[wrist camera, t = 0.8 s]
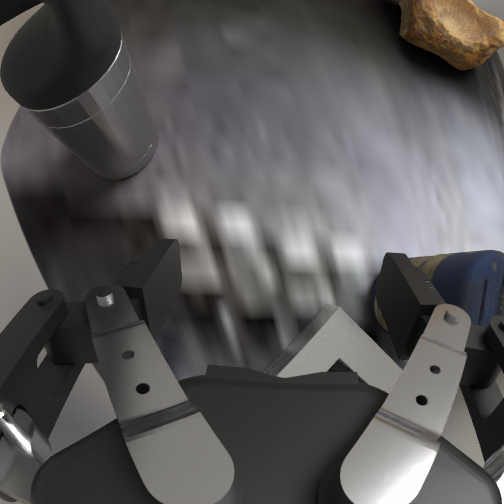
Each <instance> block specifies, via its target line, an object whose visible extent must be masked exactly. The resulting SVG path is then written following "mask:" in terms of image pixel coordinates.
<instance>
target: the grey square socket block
mask: <svg viewBox="0 0 504 504" xmlns="http://www.w3.org/2000/svg"><path fill="white" fill-rule="evenodd" d="M337 360H339V361H340V362H341V363H342V364H343V365H344V366H345V367H346V368H348V369H349V370H350V371H351V372H357V373H358V378H359V379H360V380H361V381H360V383H364V384H368V385H371V386H374V387H377V388H379V389H381V390H383V391H385V392H387V393H388V394H390V392H391V390H392V389H393V387H394V385H395V384H396V382H397V380H398V378H399V377H400V375H401V373H402V371H403V370H402V369H401V368H400V367H399V366H398V365H397V364H396V363H395V362H394V361H393V360H392V359H391V358H390V357H389V356H388V355H387V354H386V353H385V352H384V351H383V350H382V349H381V348H380V347H379V346H378V345H377V344H376V343H375V342H374V341H373V340H372V339H371V338H370V337H369V336H368V335H367V334H366V333H365V332H364V331H363V330H362V329H361V328H360V327H359V326H358V325H357V324H356V323H355V322H354V321H353V320H352V319H351V318H350V317H349V316H348V315H347V314H346V313H345V312H344V311H343V310H342V309H341V308H340V307H337V306H334V305H330V304H326V305H325V306H324V307H323V308H322V309H321V311H320V312H319V313H318V314H317V315H316V316H315V317H314V318H313V320H312V321H311V322H310V323H309V324H308V325H307V326H306V327H305V328H304V330H303V331H302V332H301V333H300V334H299V335H298V336H297V337H296V338H295V339H294V340H293V342H292V343H291V344H290V345H289V346H288V347H287V348H286V349H285V350H284V351H283V352H282V353H281V354H280V355H279V356H278V357H277V359H276V360H275V361H274V362H273V363H272V364H271V365H270V366H269V367H268V368H267V369H266V370H265V371H264V372H263V373H265V374H269V375H273V376H277V377H282V378H287V377H294V376H300V375H306V374H312V373H317V372H327V371H328V370H329V369H330V367H331V366H332V365H333V364H334V363H335V362H336V361H337Z"/></svg>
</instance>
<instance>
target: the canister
mask: <svg viewBox="0 0 504 504" xmlns="http://www.w3.org/2000/svg"><path fill="white" fill-rule="evenodd" d="M409 260H410V261H411V263H412V264H413V265H414V266H416V267H417V268H419V269H420V270H421V271H423V272H424V273H425V274H426V275H427V277H428V278H429V280H430V282H432V284H433V285H434V288H436V290H437V291H438V293H439V294H440V295H441V297H442V298H443V300H444V301H445V303H446V304H451V305H454V306H457V307H459V308H461V309H462V310H464V311H465V312H466V313H467V314H468V315H469V317H470V319H471V324H474V325H479V326H484V327H487V326H488V324H489V321H490V319H491V318H492V317H493V316H497V315H499V316H504V253H502V252H500V251H495V250H484V251H471V252H461V253H450V254H439V255H436V256H426V257H415V258H409ZM379 276H380V275H379ZM378 280H379V277H378V278H377V280H376V282H375V285H374V288H373V293H372V308H373V312H374V315H375V318H376V320H377V321H378V323H379V324H380V326H381V327H382V328H383V329H384V330H385V331H387V332H388V329H387V326H386V324H385V321H384V319H383V316H382V314H381V311H380V309H379V306H378V304H377V301H376V289H377V284H378ZM388 333H389V332H388Z"/></svg>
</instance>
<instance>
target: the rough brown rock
mask: <svg viewBox="0 0 504 504" xmlns="http://www.w3.org/2000/svg"><path fill="white" fill-rule="evenodd" d="M399 5H400V7H401V11H402V15H401V25H400V36H401V37H402V38H403V39H404V40H406V41H408V42H410V43H411V44H413V45H415V46H417V47H420V48H423V49H425V50H427V51H430V52H433V53H434V54H436V55H438V56H440V57H441V58H443V59H444V60H446V61H447V62H448V63H449V64H451V65H452V66H454V67H455V68H457V69H459V70H461V71H464V70H468V69H473V68H477V67H479V66H481V65H482V64H483V63H484V62H485V61H486V59H487V58H489V57H490V56H491V55H492V54H493V53H494V52H495V51H497V50H498V49H500V48H502V47H503V46H504V22H503V21H502V20H501V19H499V18H497V17H494V16H491V15H489V14H487V13H486V12H484V11H481V10H480V9H478V8H477V7H476V6H475V5H474V3H473V2H472V1H471V0H399Z"/></svg>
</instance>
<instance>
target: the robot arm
mask: <svg viewBox="0 0 504 504" xmlns="http://www.w3.org/2000/svg"><path fill="white" fill-rule="evenodd" d="M40 3H45V4H44V5H43V6H42V7H41V8H40V9H39V10H38V11H37V12H36V13H35V14H34V15H33V16H32V17H31V18H30V19H29V20H28V21H27V22H26V23H25V24H24V25H23V26H22V27H21V28H20V29H19V30H18V32H17V33H16V34H15V36H14V37H13V39H12V40H11V42H10V43H9V45H8V47H7V49H6V51H5V53H4V56H3V59H2V63H1V69H0V77H1V81H2V84H3V86H4V88H5V90H6V91H7V92H8V94H9V95H10V96H11V97H12V98H13V99H14V100H15V101H17V102H18V103H19V104H20V105H21V106H22V107H23V108H24V109H25V110H26V111H27V112H28V113H30V114H31V115H32V116H33V117H34V118H35V119H36V120H37V121H38V122H39V123H41V124H42V125H43V126H44V127H45V128H46V129H47V130H48V131H49V132H50V133H51V134H52V135H54V136H55V137H56V138H57V139H58V140H59V141H60V142H61V143H62V144H63V145H64V146H66V147H67V148H68V149H69V150H70V151H71V152H72V153H73V154H74V155H76V156H77V157H78V158H79V159H80V160H81V161H82V162H83V163H84V164H85V165H87V166H88V167H89V168H90V169H91V170H92V171H93V172H95V173H96V174H97V175H99V176H101V177H103V178H106V179H113V180H116V179H123V178H126V177H129V176H132V175H133V174H135V173H137V172H139V171H140V170H141V169H142V168H143V167H145V166H146V164H147V163H148V162H149V161H150V160H151V158H152V156H153V154H154V152H155V150H156V147H157V141H158V134H157V129H156V126H155V123H154V121H153V118H152V115H151V112H150V109H149V107H148V104H147V102H146V99H145V96H144V93H143V91H142V88H141V85H140V83H139V80H138V77H137V74H136V72H135V69H134V66H133V63H132V61H131V58H130V55H129V53H128V50H127V47H126V44H125V41H124V38H123V35H122V33H121V30H120V27H119V24H118V22H117V19H116V16H115V13H114V10H113V7H112V4H111V1H110V0H0V26H1V25H2V24H4V23H6V22H7V21H9V20H10V19H12V18H14V17H16V16H17V15H19V14H21V13H23V12H25V11H26V10H28V9H30V8H32V7H34V6H36V5H38V4H40ZM181 283H182V273H181V261H180V249H179V242H178V240H177V239H161V238H159V239H157V240H156V242H155V243H154V244H153V245H152V247H151V248H150V249H149V250H144V251H142V252H140V253H139V254H137V255H135V257H134V258H133V259H132V260H131V261H130V264H128V265H127V266H126V267H125V269H124V270H123V271H122V272H121V274H120V275H119V276H118V277H117V279H116V280H115V281H114V282H113V284H112V285H103V286H99V287H97V288H95V289H93V290H91V291H90V292H89V293H88V294H87V295H86V297H85V301H81V302H68V303H66V302H65V299H64V296H63V293H62V292H61V291H59V290H55V289H49V290H44V291H41V292H39V293H37V294H35V295H34V296H33V297H31V298H30V299H29V301H28V302H27V303H26V304H25V305H24V306H23V307H22V309H21V310H20V311H19V312H18V313H17V314H16V316H15V317H14V318H13V319H12V320H11V321H10V323H9V324H8V325H7V326H6V327H5V329H4V330H3V331H2V332H1V334H0V498H2V499H3V500H5V501H9V502H15V501H19V502H21V503H23V504H504V398H503V396H502V394H501V392H500V389H499V387H498V385H497V383H496V381H495V380H496V378H497V377H498V375H499V373H500V372H501V370H502V371H503V373H504V316H499V315H497V316H493V317H492V318H491V319H490V321H489V324H488V326H487V327H484V326H479V325H474V324H471V319H470V317H469V315H468V314H467V313H466V312H465V311H464V310H462V309H461V308H459V307H457V306H454V305H451V304H446V303H445V301H444V300H443V298H442V297H441V295H440V294H439V293H438V291H437V290H436V288H434V285H433V284H432V282H430V280H429V278H428V277H427V275H426V274H425V273H424V272H423V271H421V270H420V269H419V268H417V267H416V266H414V265H413V264H412V263H411V261H410V260H409V258H408V257H407V256H406V254H404V253H389V252H387V253H386V254H385V256H384V259H383V264H382V268H381V272H380V276H379V280H378V284H377V289H376V301H377V304H378V306H379V309H380V311H381V314H382V316H383V319H384V321H385V324H386V326H387V329H388V332H389V334H390V337H391V339H392V342H393V345H394V347H395V350H396V353H397V355H398V358H399V360H407V359H409V360H408V362H407V364H406V366H405V368H404V370H403V371H402V373H401V375H400V377H399V378H398V380H397V382H396V384H395V385H394V387H393V389H392V390H391V392H390V394H388V393H387V392H385V391H383V390H381V389H379V388H377V387H374V386H371V385H368V384H364V383H360V382H359V378H358V373H357V372H317V373H312V374H306V375H300V376H294V377H287V378H282V377H277V376H273V375H269V374H265V373H262V372H258V371H254V370H250V369H247V368H239V367H228V366H217V365H208V367H207V371H206V375H202V376H195V377H190V378H187V379H183V380H181V381H178V382H177V380H176V378H175V377H174V375H173V373H172V371H171V370H170V368H169V366H168V364H167V363H166V361H165V359H164V357H163V355H162V354H161V352H160V350H159V348H158V346H157V344H156V340H157V338H158V336H159V333H160V331H161V329H162V327H163V325H164V323H165V321H166V318H167V316H168V314H169V312H170V310H171V308H172V306H173V304H174V302H175V299H176V297H177V295H178V293H179V291H180V288H181ZM43 347H45V349H46V351H47V355H46V357H45V358H44V360H43V361H42V363H41V364H40V366H39V368H37V358H38V355H39V353H40V352H41V350H42V349H43ZM85 363H99V365H100V368H101V372H102V375H103V378H104V381H105V384H106V388H107V391H108V394H109V396H110V399H111V402H112V405H113V408H114V411H115V413H116V416H117V418H116V419H115V420H113V421H112V422H110V423H108V424H106V425H105V426H103V427H102V428H100V429H98V430H96V431H95V432H93V433H91V434H90V435H88V436H86V437H84V438H83V439H81V440H79V441H77V442H76V443H74V444H72V445H70V446H69V447H67V448H65V449H63V450H61V451H60V452H58V453H56V454H54V455H53V456H51V445H50V442H49V440H48V438H49V436H50V434H51V432H52V429H53V427H54V425H55V423H56V421H57V419H58V417H59V414H60V412H61V410H62V408H63V406H64V404H65V402H66V400H67V398H68V396H69V394H70V392H71V390H72V388H73V386H74V384H75V382H76V380H77V378H78V376H79V374H80V372H81V370H82V368H83V367H84V365H85ZM458 386H460V388H461V391H462V394H463V396H464V399H465V402H466V405H467V407H468V410H469V413H470V416H471V419H472V422H473V425H474V428H475V431H476V434H477V437H478V441H479V444H480V447H481V451H482V454H483V458H484V461H485V465H484V468H482V467H480V466H479V465H478V464H477V463H475V462H474V461H473V460H471V459H470V458H469V457H468V456H466V455H465V454H464V453H463V452H461V451H460V450H459V449H457V448H456V447H455V446H454V445H452V444H451V443H450V442H449V441H447V440H446V439H445V438H444V437H442V436H441V434H442V431H443V429H444V426H445V423H446V421H447V418H448V415H449V413H450V410H451V407H452V404H453V401H454V398H455V395H456V392H457V389H458ZM50 456H51V457H50Z"/></svg>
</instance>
